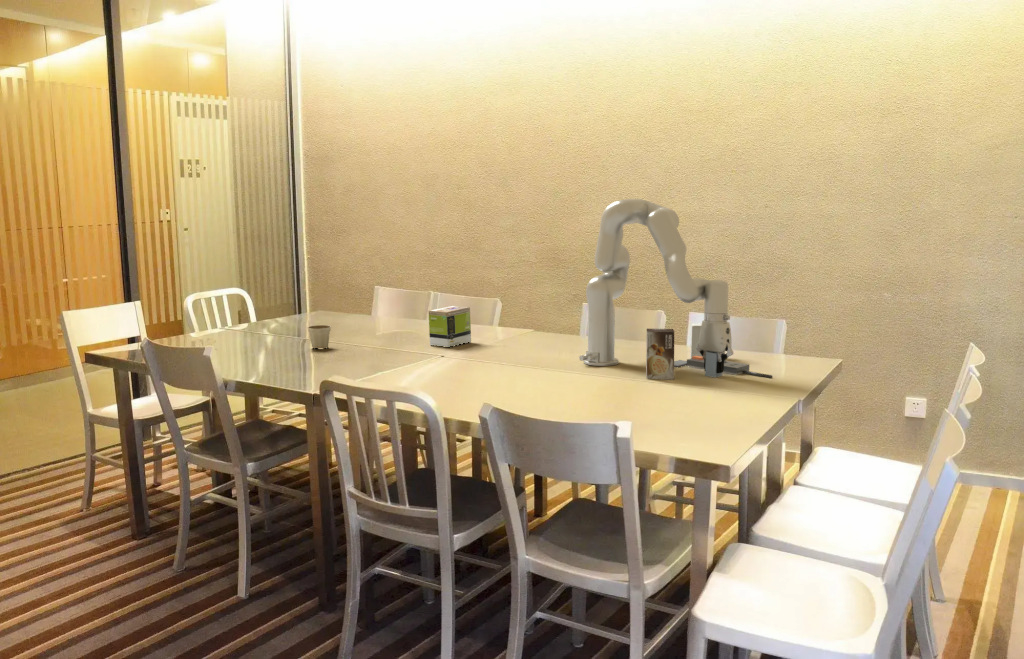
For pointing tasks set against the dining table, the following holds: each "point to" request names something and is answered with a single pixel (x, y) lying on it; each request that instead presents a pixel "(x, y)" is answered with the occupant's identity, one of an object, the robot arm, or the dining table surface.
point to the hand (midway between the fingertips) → (713, 371)
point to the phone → (680, 363)
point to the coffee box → (660, 354)
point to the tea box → (449, 326)
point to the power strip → (725, 367)
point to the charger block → (711, 364)
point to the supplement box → (695, 339)
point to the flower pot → (319, 335)
